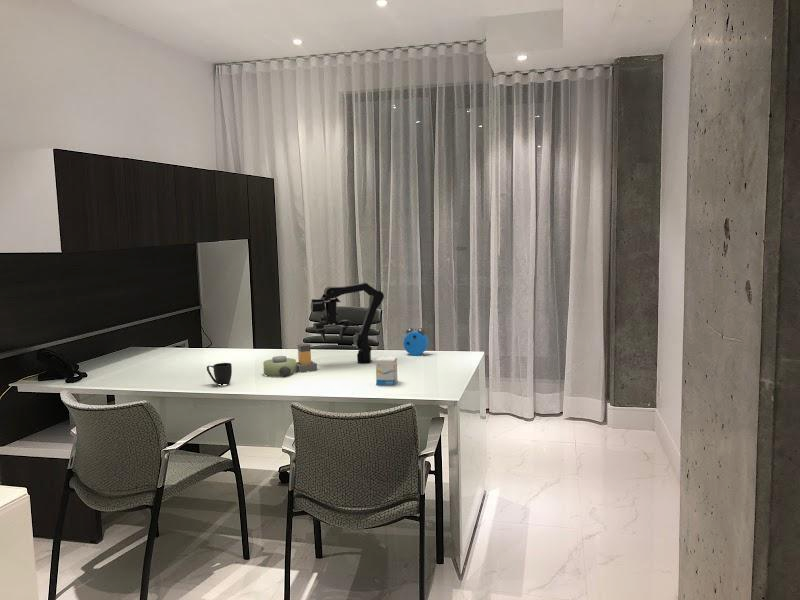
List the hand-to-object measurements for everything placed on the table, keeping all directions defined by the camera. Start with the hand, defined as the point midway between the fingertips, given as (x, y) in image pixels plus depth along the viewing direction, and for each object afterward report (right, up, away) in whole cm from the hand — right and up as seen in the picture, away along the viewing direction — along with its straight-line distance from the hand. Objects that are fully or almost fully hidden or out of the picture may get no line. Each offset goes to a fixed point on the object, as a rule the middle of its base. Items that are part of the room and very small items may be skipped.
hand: (332, 340), depth 338 cm
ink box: (+29, -17, -40) cm, 53 cm away
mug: (-49, -19, -33) cm, 62 cm away
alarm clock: (+44, -9, +23) cm, 51 cm away
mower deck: (-20, -15, -11) cm, 28 cm away
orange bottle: (-13, -14, -8) cm, 21 cm away
